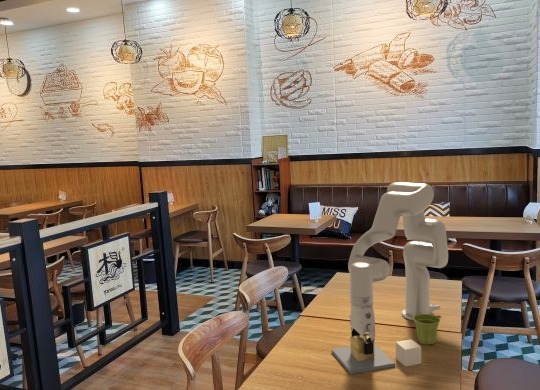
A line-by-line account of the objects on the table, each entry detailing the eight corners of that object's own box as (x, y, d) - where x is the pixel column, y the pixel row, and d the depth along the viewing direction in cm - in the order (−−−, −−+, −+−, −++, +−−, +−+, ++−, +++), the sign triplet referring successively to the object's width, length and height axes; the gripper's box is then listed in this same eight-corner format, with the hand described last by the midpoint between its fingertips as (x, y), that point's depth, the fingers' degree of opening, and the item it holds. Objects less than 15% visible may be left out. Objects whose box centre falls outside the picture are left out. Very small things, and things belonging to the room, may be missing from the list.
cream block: (411, 355, 160) (411, 339, 159) (421, 363, 154) (421, 346, 154) (395, 358, 159) (395, 341, 158) (405, 366, 153) (405, 349, 152)
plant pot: (409, 343, 169) (409, 320, 168) (417, 333, 177) (417, 312, 176) (436, 349, 164) (436, 325, 163) (442, 339, 172) (443, 316, 171)
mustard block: (366, 350, 162) (366, 334, 162) (374, 358, 157) (374, 341, 156) (350, 353, 161) (350, 336, 160) (358, 361, 155) (357, 344, 154)
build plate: (372, 345, 169) (372, 342, 168) (395, 366, 153) (395, 363, 153) (331, 352, 165) (331, 349, 165) (350, 374, 149) (350, 370, 149)
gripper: (384, 306, 149) (384, 357, 151) (360, 290, 165) (361, 335, 168) (362, 309, 147) (363, 360, 149) (341, 292, 164) (341, 338, 166)
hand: (362, 347), depth 158 cm, fingers open, 9 cm apart
